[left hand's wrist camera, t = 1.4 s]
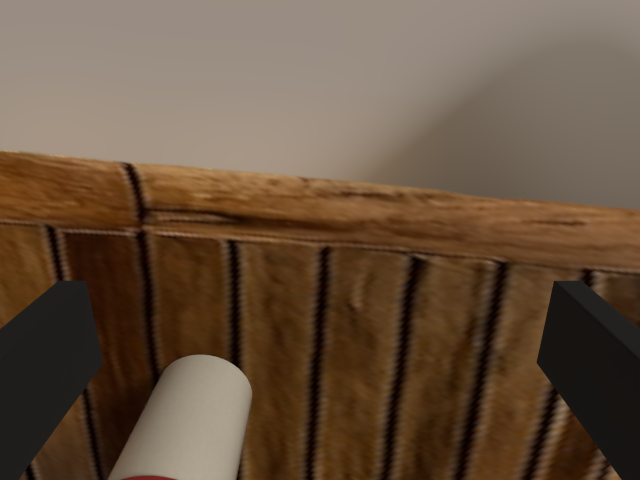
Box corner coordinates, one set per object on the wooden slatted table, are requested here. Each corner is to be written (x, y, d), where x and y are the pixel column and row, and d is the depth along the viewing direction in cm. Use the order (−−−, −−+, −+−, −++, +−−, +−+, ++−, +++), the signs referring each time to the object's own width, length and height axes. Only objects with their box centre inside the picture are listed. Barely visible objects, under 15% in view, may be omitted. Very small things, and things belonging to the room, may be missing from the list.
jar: (193, 337, 46) (127, 481, 30) (271, 390, 48) (247, 550, 32) (138, 397, 49) (51, 558, 33) (215, 444, 51) (167, 616, 35)
